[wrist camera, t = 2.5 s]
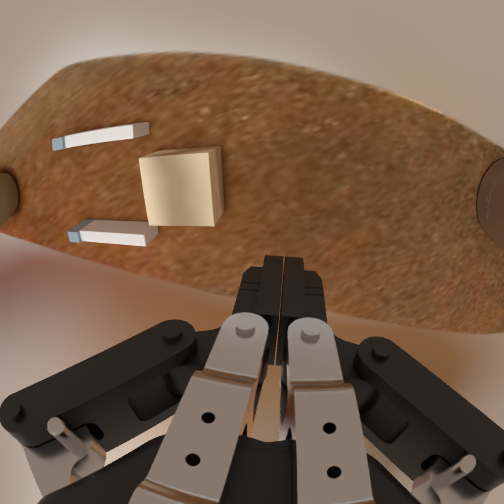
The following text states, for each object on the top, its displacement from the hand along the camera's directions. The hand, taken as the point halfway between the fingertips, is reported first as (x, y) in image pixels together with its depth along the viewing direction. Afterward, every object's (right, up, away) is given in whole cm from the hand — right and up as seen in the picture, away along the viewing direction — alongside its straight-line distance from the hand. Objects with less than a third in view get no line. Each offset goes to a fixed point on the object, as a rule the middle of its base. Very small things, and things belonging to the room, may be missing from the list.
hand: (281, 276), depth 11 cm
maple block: (-7, +8, +14) cm, 17 cm away
